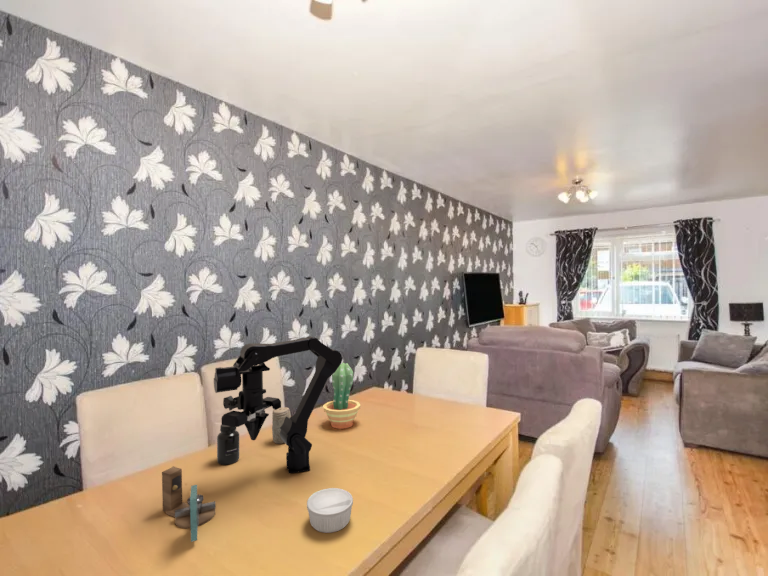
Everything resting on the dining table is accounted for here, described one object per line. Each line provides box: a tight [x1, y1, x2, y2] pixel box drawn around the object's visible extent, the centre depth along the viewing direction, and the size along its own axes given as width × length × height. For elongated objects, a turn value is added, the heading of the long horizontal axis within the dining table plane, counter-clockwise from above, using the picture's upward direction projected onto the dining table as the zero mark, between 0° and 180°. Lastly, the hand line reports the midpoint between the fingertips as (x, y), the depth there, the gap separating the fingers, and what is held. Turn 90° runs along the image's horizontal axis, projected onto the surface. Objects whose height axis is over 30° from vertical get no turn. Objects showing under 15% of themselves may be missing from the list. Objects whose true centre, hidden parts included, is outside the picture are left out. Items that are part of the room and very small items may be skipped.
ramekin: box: [306, 487, 354, 534], centre depth 93 cm, size 11×11×5 cm
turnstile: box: [174, 484, 216, 543], centre depth 92 cm, size 9×16×9 cm, turn 24°
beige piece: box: [271, 406, 292, 445], centre depth 141 cm, size 6×8×12 cm
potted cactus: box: [322, 362, 361, 430], centre depth 157 cm, size 15×15×25 cm
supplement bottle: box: [216, 423, 240, 466], centre depth 126 cm, size 7×7×12 cm
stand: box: [161, 466, 216, 529], centre depth 97 cm, size 9×15×10 cm, turn 65°
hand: (253, 439), depth 113 cm, fingers closed
